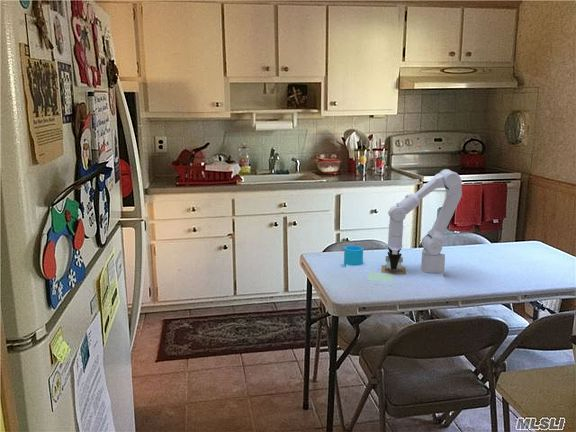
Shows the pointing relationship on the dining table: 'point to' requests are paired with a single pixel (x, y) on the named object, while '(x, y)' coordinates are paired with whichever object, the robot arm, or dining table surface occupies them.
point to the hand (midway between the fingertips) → (393, 266)
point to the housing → (388, 266)
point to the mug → (353, 255)
